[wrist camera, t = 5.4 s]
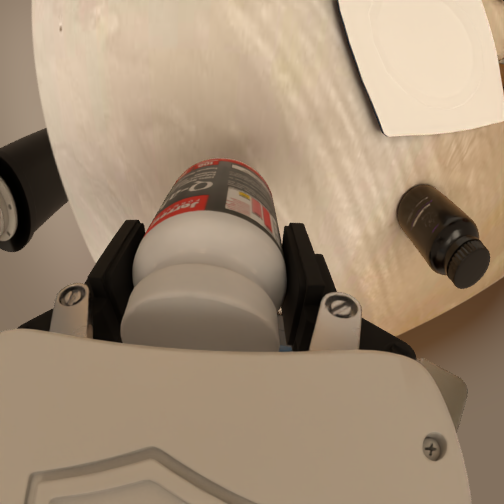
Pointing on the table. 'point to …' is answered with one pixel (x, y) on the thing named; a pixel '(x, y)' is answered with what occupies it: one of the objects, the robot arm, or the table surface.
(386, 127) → the plate
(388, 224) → the table surface
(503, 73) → the small box
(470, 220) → the supplement bottle
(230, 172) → the pill bottle
